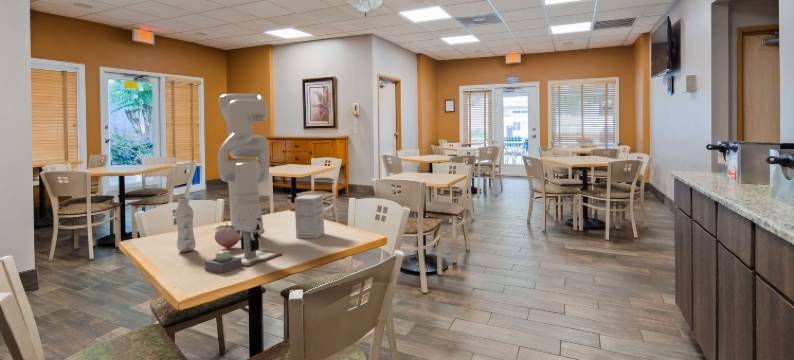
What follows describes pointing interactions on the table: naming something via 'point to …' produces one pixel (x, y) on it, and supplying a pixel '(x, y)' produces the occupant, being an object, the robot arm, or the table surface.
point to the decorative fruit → (227, 236)
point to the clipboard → (257, 257)
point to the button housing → (223, 265)
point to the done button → (222, 255)
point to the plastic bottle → (185, 226)
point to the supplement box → (309, 216)
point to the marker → (248, 246)
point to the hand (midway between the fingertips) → (250, 249)
